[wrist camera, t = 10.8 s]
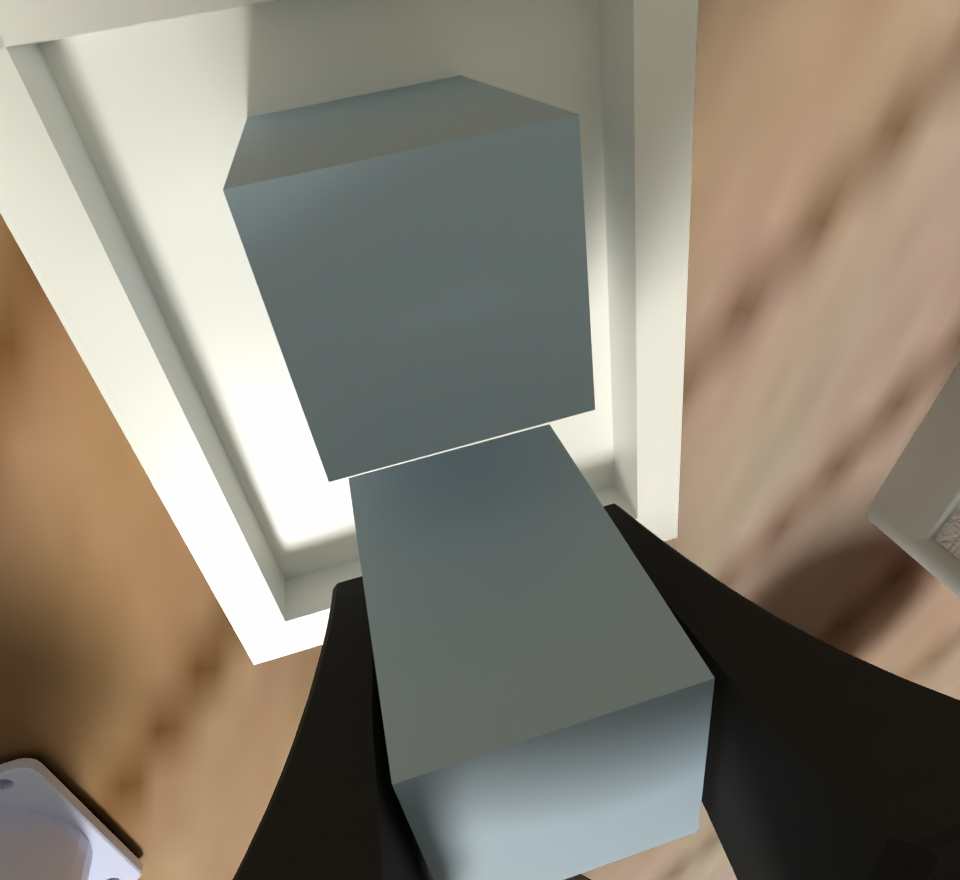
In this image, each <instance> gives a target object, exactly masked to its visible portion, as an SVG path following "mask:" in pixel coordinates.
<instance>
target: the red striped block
mask: <svg viewBox="0 0 960 880" xmlns="http://www.w3.org/2000/svg"><path fill="white" fill-rule="evenodd" d="M867 518H868V519H869V521H870V522H872V523H873V524H874V525H875V526H876V527H877V528H879V529H880V530H881V531H882V532H883V533H884V534H886V535H887V536H888V537H889V538H890V539H891V540H893V541H894V542H895V543H896V544H897V545H898V546H900V547H901V548H902V549H903V550H904V551H905V552H906V553H908V554H909V555H910V556H911V557H912V558H913V559H915V560H916V561H917V562H918V563H919V564H920V565H922V566H923V567H924V568H925V569H926V570H927V571H929V572H930V573H931V574H932V575H933V576H934V577H936V578H937V579H938V580H939V581H940V582H941V583H943V584H944V585H945V586H946V587H947V588H948V589H950V590H951V591H952V592H953V593H954V594H955V595H957V596H958V597H959V598H960V362H959V364H958V365H957V367H956V368H955V370H954V372H953V373H952V375H951V376H950V378H949V380H948V381H947V383H946V384H945V386H944V388H943V389H942V391H941V392H940V394H939V396H938V397H937V399H936V400H935V402H934V404H933V405H932V407H931V408H930V410H929V412H928V413H927V415H926V416H925V418H924V420H923V421H922V423H921V424H920V426H919V428H918V429H917V431H916V432H915V434H914V436H913V437H912V439H911V440H910V442H909V444H908V445H907V447H906V448H905V450H904V452H903V453H902V455H901V456H900V458H899V460H898V461H897V463H896V465H895V466H894V468H893V469H892V471H891V473H890V474H889V476H888V477H887V479H886V481H885V482H884V484H883V485H882V487H881V489H880V490H879V492H878V493H877V495H876V497H875V498H874V500H873V501H872V503H871V505H870V506H869V509H868V511H867Z"/></svg>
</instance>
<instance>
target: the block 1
mask: <svg viewBox="0 0 960 880" xmlns="http://www.w3.org/2000/svg"><path fill="white" fill-rule="evenodd" d="M223 192H224V195H225V197H226V200H227V203H228V206H229V208H230V211H231V214H232V217H233V219H234V222H235V225H236V228H237V230H238V233H239V236H240V239H241V241H242V244H243V247H244V250H245V253H246V255H247V258H248V261H249V264H250V266H251V269H252V272H253V275H254V277H255V280H256V283H257V286H258V288H259V291H260V294H261V297H262V299H263V302H264V305H265V308H266V310H267V313H268V316H269V319H270V321H271V324H272V327H273V330H274V332H275V335H276V338H277V341H278V343H279V346H280V349H281V352H282V354H283V357H284V360H285V363H286V366H287V368H288V371H289V374H290V377H291V379H292V382H293V385H294V388H295V390H296V393H297V396H298V399H299V401H300V404H301V407H302V410H303V412H304V415H305V418H306V421H307V423H308V426H309V429H310V432H311V434H312V437H313V440H314V443H315V445H316V448H317V451H318V454H319V456H320V459H321V462H322V465H323V467H324V470H325V473H326V476H327V479H328V481H329V482H332V481H335V480H339V479H343V478H346V477H350V476H354V475H357V474H361V473H365V472H368V471H372V470H376V469H379V468H383V467H387V466H390V465H394V464H398V463H401V462H405V461H409V460H412V459H416V458H420V457H423V456H427V455H431V454H434V453H438V452H442V451H445V450H449V449H453V448H456V447H460V446H464V445H467V444H471V443H475V442H478V441H482V440H486V439H489V438H493V437H497V436H500V435H504V434H508V433H511V432H515V431H519V430H523V429H526V428H530V427H534V426H537V425H541V424H545V423H548V422H552V421H556V420H559V419H563V418H567V417H570V416H574V415H578V414H581V413H585V412H589V411H592V410H595V397H594V379H593V361H592V343H591V324H590V306H589V288H588V270H587V251H586V233H585V215H584V196H583V178H582V160H581V142H580V123H579V114H576V113H573V112H570V111H567V110H564V109H561V108H558V107H555V106H552V105H549V104H546V103H543V102H540V101H537V100H534V99H531V98H528V97H525V96H522V95H519V94H516V93H513V92H510V91H507V90H504V89H501V88H498V87H495V86H492V85H489V84H486V83H483V82H480V81H476V80H473V79H470V78H467V77H464V76H461V75H459V76H454V77H449V78H444V79H439V80H434V81H429V82H424V83H419V84H414V85H409V86H404V87H399V88H394V89H389V90H384V91H379V92H374V93H369V94H364V95H359V96H354V97H349V98H344V99H339V100H334V101H329V102H324V103H319V104H314V105H309V106H304V107H299V108H294V109H289V110H284V111H279V112H274V113H269V114H264V115H259V116H254V117H249V118H247V120H246V123H245V126H244V129H243V132H242V135H241V138H240V141H239V144H238V147H237V149H236V152H235V155H234V158H233V161H232V164H231V167H230V170H229V173H228V176H227V179H226V182H225V185H224V188H223Z"/></svg>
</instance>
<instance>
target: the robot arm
mask: <svg viewBox="0 0 960 880" xmlns="http://www.w3.org/2000/svg"><path fill="white" fill-rule="evenodd" d="M603 507H604V509H605V510H606V512H607V513H608V515H609V516H610V518H611V519H612V521H613V523H614V524H615V526H616V527H617V529H618V530H619V532H620V533H621V535H622V536H623V538H624V539H625V541H626V542H627V544H628V546H629V547H630V549H631V550H632V552H633V553H634V555H635V556H636V558H637V559H638V561H639V562H640V564H641V566H642V567H643V569H644V570H645V572H646V573H647V575H648V576H649V578H650V579H651V581H652V582H653V584H654V586H655V587H656V589H657V590H658V592H659V593H660V595H661V596H662V598H663V599H664V601H665V602H666V604H667V606H668V607H669V609H670V610H671V612H672V613H673V615H674V616H675V618H676V619H677V621H678V622H679V624H680V626H681V627H682V629H683V630H684V632H685V633H686V635H687V636H688V638H689V639H690V641H691V642H692V644H693V646H694V647H695V649H696V650H697V652H698V653H699V655H700V656H701V658H702V659H703V661H704V662H705V664H706V665H707V667H708V669H709V670H710V672H711V673H712V675H713V676H714V678H715V681H714V690H713V699H712V709H711V718H710V727H709V736H708V746H707V755H706V764H705V773H704V783H703V792H702V802H703V805H704V807H705V809H706V811H707V813H708V815H709V818H710V820H711V822H712V824H713V826H714V829H715V831H716V833H717V835H718V837H719V840H720V842H721V844H722V846H723V848H724V851H725V853H726V855H727V857H728V859H729V862H730V864H731V866H732V868H733V870H734V873H735V875H736V877H737V880H960V700H957V699H954V698H952V697H949V696H947V695H944V694H942V693H939V692H937V691H934V690H931V689H929V688H926V687H924V686H921V685H919V684H916V683H913V682H911V681H908V680H906V679H904V678H901V677H899V676H897V675H894V674H892V673H890V672H888V671H885V670H883V669H881V668H879V667H876V666H874V665H872V664H870V663H868V662H865V661H863V660H861V659H859V658H857V657H854V656H852V655H850V654H848V653H845V652H843V651H841V650H839V649H837V648H835V647H833V646H831V645H829V644H827V643H825V642H823V641H821V640H819V639H817V638H815V637H813V636H811V635H809V634H807V633H805V632H804V631H802V630H800V629H798V628H796V627H794V626H792V625H791V624H789V623H787V622H785V621H783V620H782V619H780V618H778V617H776V616H775V615H773V614H771V613H769V612H768V611H766V610H764V609H763V608H761V607H759V606H758V605H756V604H754V603H753V602H751V601H750V600H748V599H746V598H745V597H743V596H742V595H740V594H739V593H737V592H735V591H734V590H732V589H731V588H729V587H728V586H726V585H725V584H723V583H722V582H720V581H719V580H717V579H716V578H714V577H713V576H711V575H710V574H708V573H707V572H705V571H704V570H703V569H701V568H700V567H698V566H697V565H695V564H694V563H693V562H691V561H690V560H688V559H687V558H685V557H684V556H683V555H681V554H680V553H679V552H677V551H676V550H675V549H673V548H672V547H671V546H669V545H668V544H667V543H665V542H664V541H663V540H661V539H660V538H659V537H657V536H656V535H655V534H653V533H652V532H651V531H650V530H648V529H647V528H646V527H644V526H643V525H642V524H641V523H639V522H638V521H637V520H636V519H634V518H633V517H632V516H631V515H629V514H628V513H627V512H626V511H624V510H623V509H622V508H621V507H619V506H618V505H616V504H614V503H613V504H610V505H607V506H603ZM142 868H143V864H142V862H141V861H140V860H139V859H138V858H137V857H136V856H135V855H134V854H133V853H132V852H131V851H130V850H129V849H128V848H127V847H126V846H125V845H124V844H123V843H122V842H121V841H120V840H119V839H118V838H117V837H116V836H115V835H114V834H113V833H112V832H111V831H110V830H109V829H108V828H107V827H106V826H105V825H104V824H103V823H102V822H101V821H100V820H99V819H98V818H97V817H96V816H95V815H94V814H93V813H92V812H91V811H89V810H88V809H87V808H86V807H85V806H84V805H83V804H82V803H81V802H80V801H79V800H78V799H77V798H76V797H75V796H74V795H73V794H72V793H71V792H70V791H69V790H68V789H67V788H66V787H65V786H64V785H63V784H62V783H61V782H60V781H59V780H58V779H57V778H56V777H55V776H54V775H53V774H52V773H51V772H50V771H49V770H48V769H47V768H46V767H45V766H44V765H43V764H42V763H41V762H39V761H38V760H36V759H32V758H21V759H16V760H13V761H10V762H6V763H3V764H0V880H137V879H138V878H139V877H140V876H141V874H142ZM233 880H429V877H428V871H427V866H426V862H425V859H424V857H423V855H422V852H421V850H420V848H419V846H418V843H417V841H416V839H415V836H414V834H413V832H412V829H411V827H410V825H409V823H408V820H407V818H406V816H405V813H404V811H403V809H402V807H401V804H400V802H399V800H398V797H397V795H396V793H395V791H394V788H393V786H392V781H391V774H390V767H389V760H388V753H387V746H386V739H385V732H384V725H383V718H382V711H381V704H380V697H379V690H378V683H377V676H376V669H375V662H374V655H373V648H372V641H371V634H370V627H369V620H368V613H367V606H366V599H365V592H364V584H363V577H362V576H361V577H357V578H354V579H350V580H347V581H343V582H340V583H337V584H336V586H335V587H334V589H333V592H332V600H331V607H330V613H329V618H328V623H327V628H326V633H325V637H324V641H323V646H322V650H321V654H320V658H319V661H318V665H317V669H316V672H315V676H314V679H313V683H312V687H311V690H310V694H309V697H308V700H307V703H306V706H305V709H304V712H303V715H302V718H301V721H300V724H299V727H298V730H297V733H296V736H295V739H294V742H293V744H292V747H291V750H290V753H289V755H288V758H287V760H286V763H285V766H284V768H283V771H282V773H281V776H280V778H279V781H278V783H277V786H276V788H275V790H274V793H273V795H272V797H271V800H270V802H269V804H268V807H267V809H266V811H265V814H264V816H263V818H262V820H261V822H260V824H259V826H258V829H257V831H256V833H255V835H254V837H253V839H252V841H251V844H250V846H249V848H248V850H247V852H246V854H245V856H244V858H243V860H242V862H241V864H240V866H239V868H238V870H237V872H236V874H235V876H234V878H233Z"/></svg>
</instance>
